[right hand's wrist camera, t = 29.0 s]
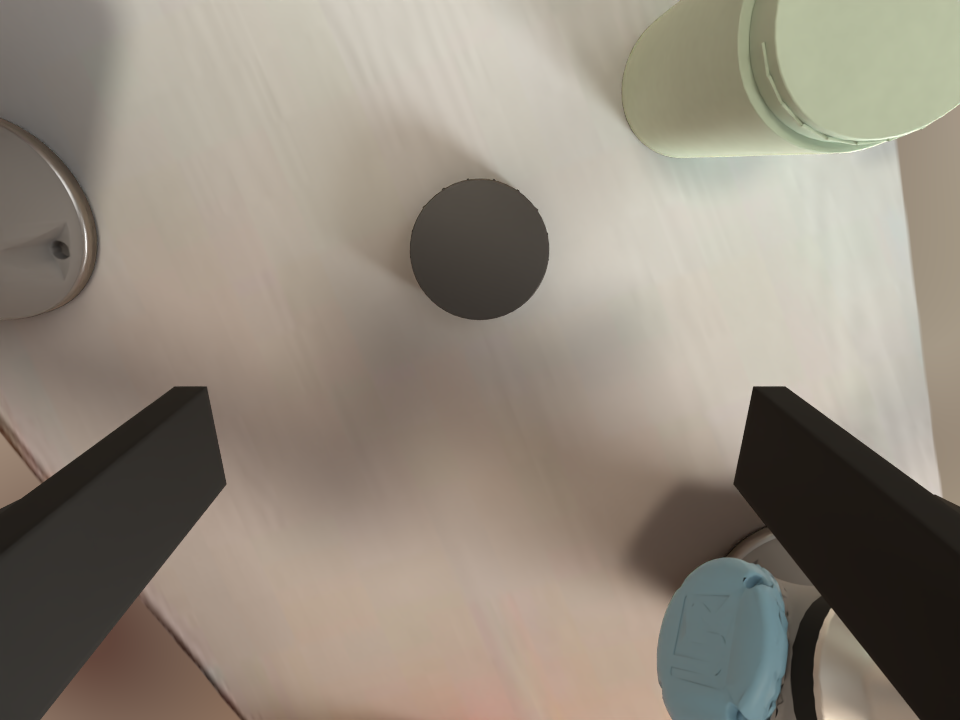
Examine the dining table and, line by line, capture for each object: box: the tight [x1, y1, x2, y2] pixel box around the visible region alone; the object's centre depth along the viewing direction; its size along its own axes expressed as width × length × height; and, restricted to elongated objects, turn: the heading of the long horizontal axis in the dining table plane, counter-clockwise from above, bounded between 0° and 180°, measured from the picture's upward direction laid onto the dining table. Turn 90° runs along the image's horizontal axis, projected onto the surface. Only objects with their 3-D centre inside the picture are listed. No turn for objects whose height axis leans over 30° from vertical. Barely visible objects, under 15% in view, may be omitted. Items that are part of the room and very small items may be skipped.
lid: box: [410, 179, 549, 320], centre depth 40 cm, size 11×11×2 cm
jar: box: [622, 0, 960, 158], centre depth 28 cm, size 10×10×20 cm
